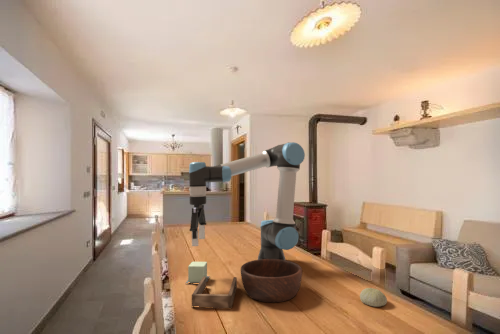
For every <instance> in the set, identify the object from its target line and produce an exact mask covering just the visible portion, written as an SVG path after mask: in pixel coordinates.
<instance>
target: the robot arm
mask: <svg viewBox="0 0 500 334" xmlns="http://www.w3.org/2000/svg"><path fill="white" fill-rule="evenodd" d="M305 156H306V154H305V150H304V148H303V147H302V145H301V144H299V143H297V142H286V143H281V144H278V145H276V146H273V147H271V148H268V149H266V150H262V152H261V153H258V154H254V155H251V156H247V157H242V158H240V159H235V160H233V161H228V162H225V163H221V164H219V165H218V164H217V165H214V166H212V165H211V166H208V165H206V162H205V161H193V162H190V163H189V166H188V167H189V169H188V174H189V175H188V177H189V179H188V180H189V181H188V182H189V188H188V190H187V191H189V195H190V196H189V205H191V206H193V207H192V208H191V218H190V227H189V232H191V247H199V240H205V239H206V232H205V231H206V230H205V229H206V227H205V225H207V222H206V215H205V205H206V204H207V196H206V195H207V183H228V182H230V181H231V180H232V177H233V176H237V175H241V174H245V173H248V172H251V171H254V170H258V169H262V168H264V167H265V168H267V169H268V168H271V167H277V168H276V169H277V171H279V174H278V175H279V177H278V189H277V199H276V201H277V202H276V214H275V218H274V219H265V220H261V222H260V249H259V253H258V255H257V260H259V259H280V260H286V256H285V253H284V251H289V250H291V249H293V248H294V247H296V245H297V244H298V242H299V236H300V235H299V232H298V230H296V222H295V220H294V206H295V196H296V195H295V194H296V184H297V183H296V181H297V173H298V172H299V171H300V169H301V168H300V167H301V164H302V163H303V162H304V160H305Z"/></svg>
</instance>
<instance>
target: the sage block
mask: <svg viewBox="0 0 500 334" xmlns="http://www.w3.org/2000/svg"><path fill="white" fill-rule="evenodd" d="M187 271H188V272H187V273H188V278H187V280H188V282H200V281H201V279H202V278H203V277H206V278H207V276H208V261H191V263H190V264H189V265H188V267H187Z"/></svg>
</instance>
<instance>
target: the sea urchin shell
mask: <svg viewBox="0 0 500 334" xmlns="http://www.w3.org/2000/svg"><path fill="white" fill-rule="evenodd" d="M359 298H360V301H361V302H362V303H363V304H364V305H366V306H367V305H368V306H370V307H377V308H381V307H383V306H385V305H386V304H387V303H388V299H387V296H386V295H385V294H384V293H383V292H382V291H381V290H379V289H377V288H372V287H366V288H364V289H362V290H361V291H360V294H359Z"/></svg>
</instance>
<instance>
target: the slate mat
mask: <svg viewBox="0 0 500 334" xmlns="http://www.w3.org/2000/svg"><path fill="white" fill-rule="evenodd" d="M209 277H210V278H211V276H210V275H209V276H208V275H207V278H206V282H207V283H208V281H209V280H210V278H209ZM208 279H209V280H208ZM186 283H188V279H187V280H186V282H185V284H186ZM190 283H200V282H190Z"/></svg>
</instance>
